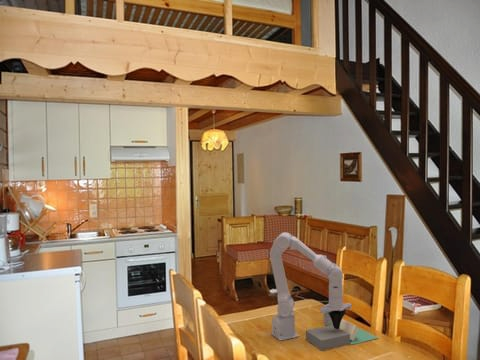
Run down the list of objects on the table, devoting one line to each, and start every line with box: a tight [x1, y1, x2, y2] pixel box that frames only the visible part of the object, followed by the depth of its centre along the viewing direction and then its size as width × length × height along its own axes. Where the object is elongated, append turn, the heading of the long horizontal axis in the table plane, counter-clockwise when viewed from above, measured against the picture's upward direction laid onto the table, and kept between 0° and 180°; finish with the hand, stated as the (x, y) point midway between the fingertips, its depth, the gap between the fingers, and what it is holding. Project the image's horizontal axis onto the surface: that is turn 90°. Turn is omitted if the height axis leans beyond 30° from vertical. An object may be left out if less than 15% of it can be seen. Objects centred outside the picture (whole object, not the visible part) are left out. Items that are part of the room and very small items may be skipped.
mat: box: [349, 327, 379, 346], centre depth 158 cm, size 14×13×1 cm
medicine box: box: [322, 302, 333, 326], centre depth 172 cm, size 8×4×9 cm, turn 143°
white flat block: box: [339, 318, 360, 341], centre depth 156 cm, size 6×9×2 cm
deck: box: [305, 325, 351, 352], centre depth 152 cm, size 14×11×4 cm
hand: (336, 328), depth 154 cm, fingers closed
